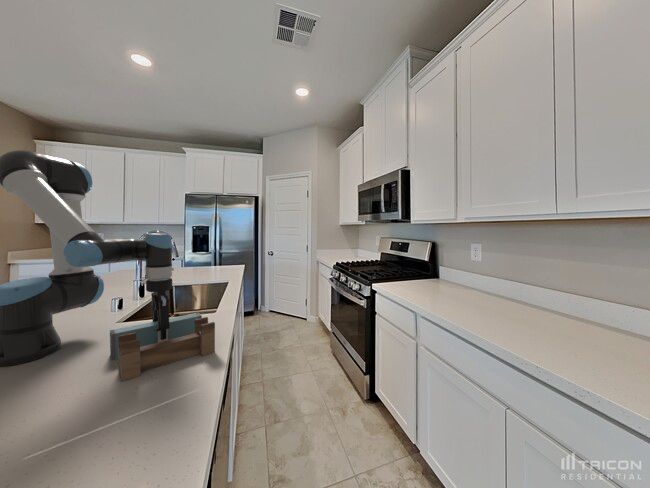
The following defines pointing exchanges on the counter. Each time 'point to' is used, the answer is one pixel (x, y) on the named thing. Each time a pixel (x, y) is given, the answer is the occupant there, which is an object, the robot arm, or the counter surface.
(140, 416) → the counter surface
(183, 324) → the rail
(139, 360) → the wooden slotted stand
